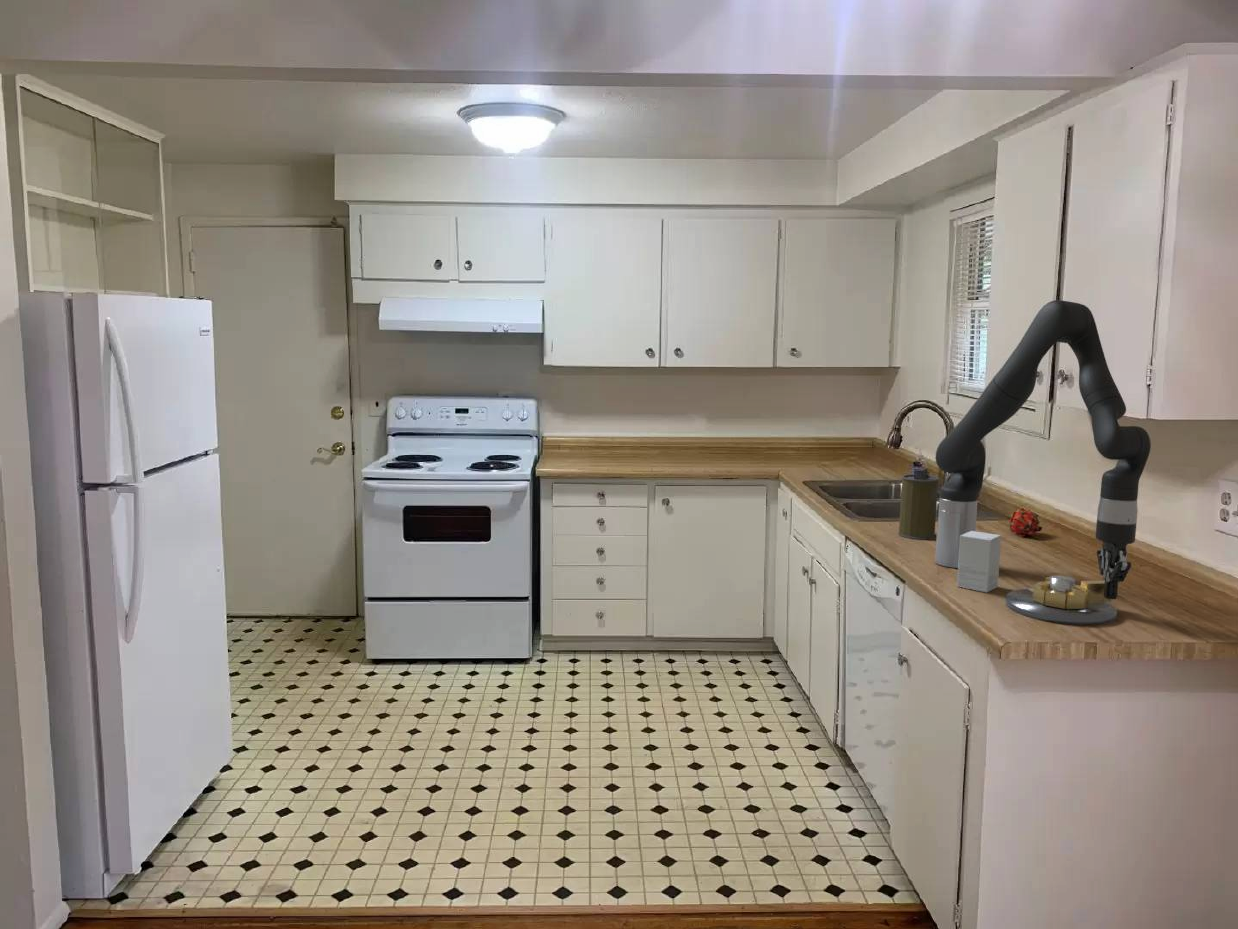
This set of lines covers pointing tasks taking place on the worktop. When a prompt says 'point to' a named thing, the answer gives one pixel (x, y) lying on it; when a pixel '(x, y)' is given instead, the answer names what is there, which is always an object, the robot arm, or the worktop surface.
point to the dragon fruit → (1024, 523)
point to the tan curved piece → (1070, 594)
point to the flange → (1088, 616)
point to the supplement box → (979, 561)
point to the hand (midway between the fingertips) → (1109, 598)
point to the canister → (918, 505)
